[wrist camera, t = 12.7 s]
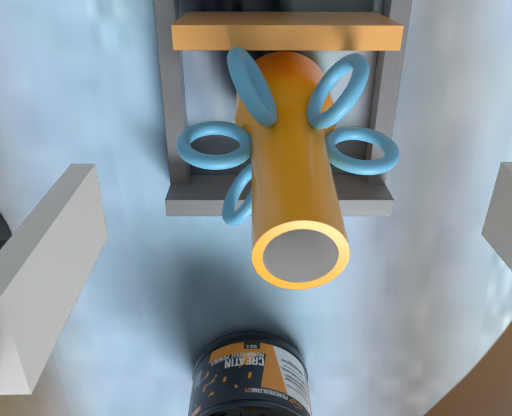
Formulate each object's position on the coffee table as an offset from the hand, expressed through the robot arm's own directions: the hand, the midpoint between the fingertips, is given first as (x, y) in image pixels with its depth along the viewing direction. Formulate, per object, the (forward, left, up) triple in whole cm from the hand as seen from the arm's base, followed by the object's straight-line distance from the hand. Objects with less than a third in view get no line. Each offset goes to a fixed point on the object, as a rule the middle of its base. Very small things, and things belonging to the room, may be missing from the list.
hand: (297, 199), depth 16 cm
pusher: (0, +4, -18) cm, 18 cm away
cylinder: (0, -1, -17) cm, 17 cm away
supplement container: (-2, -27, -18) cm, 32 cm away
